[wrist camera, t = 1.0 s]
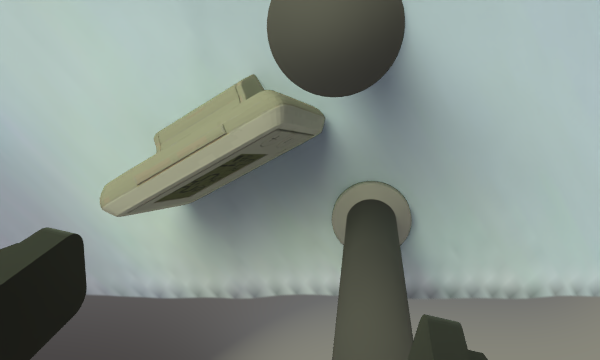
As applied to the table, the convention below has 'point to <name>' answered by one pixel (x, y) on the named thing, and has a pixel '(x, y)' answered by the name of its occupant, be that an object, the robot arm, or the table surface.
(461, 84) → the table surface
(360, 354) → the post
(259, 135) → the digital clock
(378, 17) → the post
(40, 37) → the table surface
